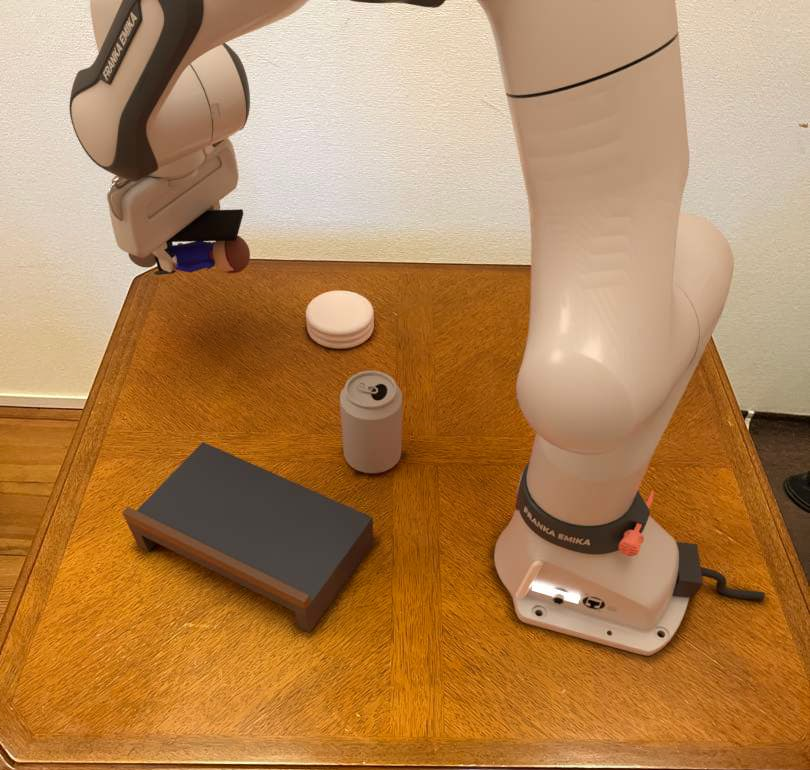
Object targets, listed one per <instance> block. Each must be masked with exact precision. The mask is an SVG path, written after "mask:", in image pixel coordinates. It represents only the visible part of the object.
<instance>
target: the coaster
mask: <svg viewBox="0 0 810 770" xmlns="http://www.w3.org/2000/svg"><path fill="white" fill-rule="evenodd" d="M374 311H375V310H374V308H373V305H372V303H371V301H369V299H367V298H366V297H364V296H363V295H361V294H359V293H357V292H353V291H349V290H331V291H327V292H324V293H321V294H319V295H317V296H316V297H314V298H313V299H312V300H311V301H310V302H309V304H308V305H307V307H306V309H305V319H306V320H305V323H306V330H307V333H308V335H309V337H310V338H311V339H312V340H313V341H314V342H315V343H317V344H318V345H320V346H322V347H326V348H329V349H336V350H345V349H346V350H347V349H351V348H354V347H357V346H359V345H362V344H363V343H365V342H366V341H367V340H368V339H370V337H371V336H372V334H373V332H374V327H375V323H374V321H375V319H374V317H375V316H374V315H375V314H374V313H375V312H374Z"/></svg>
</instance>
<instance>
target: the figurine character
mask: <svg viewBox="0 0 810 770" xmlns="http://www.w3.org/2000/svg"><path fill="white" fill-rule="evenodd" d="M243 217H244V210H243V208H241V209H239V208H238V209H220V210H207V211H205V212H204V213H203V214H202V215H200V216H199V217H198V218H196V219H195V220H194V221H192V222H191V223H190V224H188V225H187V226H186V227H185V228H183V229H182V230H181V231H179V232H178V233H177V234H175V235H174V236H173V237H171V238H170V239H169V240H168V241H166V244H167V248H166V249H164V250H165V251H166V252H168V253H169V254H174V255H176V258H177V263H178V267H176V268H175V269H174V270H173V271H171V272H168V271H165V270H163V269H162V268H161V266H160V263H159V260H158V257H156V256H155V255H154V254H153V253H151V254H149V255H148V256H147V257H145V258H141V257H138V256H135V255H132V254H129V253H127V254H128V257H129V259H130V261H131V262H132V263H133V264H134V265H136V266H138V267H140V268H146V269H147V268H152V267H154V266H155V265H156V266H157V269H158V270H156V271H154V272H153V273H152V274H153V275H156V276H162V275H171V274H175V273H177V271H180V272H185V273H189V274H191V273H194V272H198V271H201V270H204V269H207V270H210V269H212V268H213V267H215V265H216V267H218V269H219V270H220V271H222V272H224V273H226V274H239V273H241V272H242V271H244V270H245V269H246V268H247V267H248V265H249V262H250V259H251V251H250V247H249V244H248V243H247V242H246V241H245V239H244V238H243V237H241V236H240V235H239V233H240V228H241V224H242V220H243ZM184 242H185V243H184ZM174 243H177V244H174Z"/></svg>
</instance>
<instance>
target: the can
mask: <svg viewBox="0 0 810 770" xmlns="http://www.w3.org/2000/svg"><path fill="white" fill-rule="evenodd" d="M339 394H340V395H339V408H340V423H341V435H342V437H341V438H342V451H343V456H344V459H345V462H346V463H347V464H348V465H349V466H350V467H351V468H353V469H354V470H356V471H358V472H362V473H364V474H379V473H384V472H386V471H389V470H390V469H392V468H394V467H395V466H396V465H397V464H398V463H399V461H400V459H401V457H402V440H403V439H402V437H403V393H402V390H401V388H400V387H399V386H398V385H397V382H396V380H395V379H394V378H393V377H392V376H391V375H389V374H387V373H385V372H382V371H379V370H364V371H360V372H357V373H354V374H352V376H350V377H349V378H348V379H347V380H346V382H345V384H344V386H343V388H342V389H341V391H340V393H339Z"/></svg>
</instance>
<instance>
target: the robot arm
mask: <svg viewBox="0 0 810 770" xmlns="http://www.w3.org/2000/svg"><path fill="white" fill-rule="evenodd" d="M349 1H350V2H355V3H362V4H363V3H365V4H405V5H411V6H416V7H422V8H430V9H431V8H433V9H436V8H439V7H441V6H442V5H443V4H444V3H445V2H446V0H349ZM89 2H90V5H89V6H90V15H91V22H92V23H91V24H92V29H93V34H94V39H95V44H96V48H97V52H98V54H97V56H96V58H95V60H94V62H93V63H92V64H91V65H90V66H88V67H86V68H83V69H80V70H79V71H77V73H76V75H75V77H74V81H73V83H72V86H71V90H70V97H69V107H68V108H69V116H70V122H71V125H72V128H73V131H74V133H75V136H76V137H77V138H76V139H77V140H78V142H79V144H80V145H81V147H82V149H83V151H84V152H85V153H86V155H87V156H88V158H89V159H90V160H91V161H92V162H93V163H94V164H95V165H97V166H98V167H99V168H101V169H103V170H104V171H106V172H108V173H109V174H112V175H114V177H112V179H111V184H110V186H109V188H108V191H107V193H106V199H107V203H108V209H109V210H108V211H109V216H110V221H111V227H112V231H113V235H114V238H115V242H116V244H117V247H118V248H119V249H120V250H121V251H123V252H124V253H127V254H128V253H129V254H132V255H135V256H138V257H141V258H145V257H147V256H148V255H149V254H151V253H153V254H154V255H155V256H156V257H158V260H159V263H160V266H161V268H162V269H163V270H165V271H168V272H171V271H173V270H174V269H175V268H176V267H178V263H177V258H176V255H174V254H169V253H168V252H166V251H165V250H164V249H166V248H167V244H166V241H168V240H169V239H170V238H171V237H173V236H174V235H175V234H177V233H178V232H179V231H181V230H182V229H183V228H185V227H186V226H187V225H188V224H190V223H191V222H192V221H194V220H195V219H196V218H198V217H199V216H200V215H202V214H203V213H204V212H205V211H207V210H221V205H220V204H221V203H220V201H222V199H224V198H225V197H227V196H228V195H229V194H231V193H232V192H233V191H234V190H236V188H237V186H238V182H239V178H240V177H239V176H240V175H239V169H238V161H237V157H236V156H237V155H236V152H235V148H234V145H233V143H232V141H231V139H230V137H232V136H233V135H235V134H237V133H238V132H239V131H242V130H243V129H244V128H245V126H246V124H247V121H248V118H249V114H250V109H251V91H250V85H249V80H248V76H247V71H246V69H245V66H244V64H243V62H242V60H241V58H240V57H239V55H238V54H237V52H235V50H234V49H233V48H232V47H230V46H229V45H228V44H227V43H228V42H231V41H232V40H235V39H237V38H239V37H242V36H244V35H247V34H250V33H253V32H255V31H257V30H259V29H262V28H265V27H267V26H269V25H272V24H274V23H276V22H279V21H281V20H284V19H286V18H288V17H289V16H292V15H293V14H294V13H296V12H298V11H299V10H300V9H302V7H304V6H305V5H306V4H307V3H309V2H310V0H90V1H89ZM476 2H477V3H478V5H480V7H481V8H482V10H483V12H484V13H485V16H486V18H487V20H488V23H489V25H490V28H491V32H492V36H493V38H494V43H495V47H496V51H497V58H498V63H499V68H500V72H501V78H502V82H503V88H504V92H505V96H506V97H505V98H506V101H507V106H508V110H509V114H510V120H511V123H512V129H513V134H514V138H515V143H516V147H517V152H518V157H519V162H520V167H521V172H522V176H523V177H522V178H523V182H524V186H525V192H526V197H527V205H528V212H529V226H530V261H531V262H530V296H529V299H530V300H529V318H528V319H529V320H528V330H527V337H526V343H525V348H524V352H523V357H522V360H521V364H520V368H519V370H518V374H517V377H516V384H515V392H516V399H517V403H518V406H519V409H520V411H521V413H522V415H523V417H524V418H525V420H526V422H527V424H528V425H529V426H530V428H532V430H533V431H534V432H535V436H534V440H533V445H532V449H531V453H530V457H529V460H528V462H527V464H526V465H525V467H524V469H522V473H521V475H520V478H519V481H518V485H517V490H516V494H515V498H516V500H515V505H514V506H515V511H514V512H513V514H512V517H511V519H510V521H509V523H508V524H507V526H506V527H504V529H503V531H502V532H501V533H500V535H499V537H498V538H497V540H496V543H495V548H494V554H493V556H494V557H493V558H494V567H495V569H496V573H497V575H498V577H499V579H500V581H501V582H502V584H503V586H504V587H505V588H506V590H507V591H508V592H509V594H510V596H511V598H512V603H513V607H514V611H515V615H516V616H517V618H518V620H520V622H522V623H525V624H527V625H531V626H535V627H537V628H538V627H539V628H542V629H546V630H549V631H553V632H556V633H559V634H564V635H567V636H571V637H575V638H579V639H582V640H586V641H589V642H593V643H598V644H600V645H605V646H608V647H611V648H614V649H618V650H622V651H626V652H629V653H630V652H631V653H633V654H637V655H641V656H645V657H650V656H652V655H655V654H656V653H657V652H659V651H661V650H662V649H664V647H666V646H667V645H668V644H669V642H670V641H672V639H673V637H674V636H675V635H676V633H677V631H678V629H679V628H680V625H681V623H682V621H683V618H684V616H685V614H686V611H687V607H688V604H689V601H690V598H694V597H696V595H697V594H698V592H699V590H700V588H701V587H702V586H703V583H704V581H703V577H706V578H710V579H712V580H715V581H716V584H715V588H716V591H718V593H720V594H722V595H723V596H725V597H728V598H731V599H739V600H741V599H742V600H743V599H744V600H756V601H764V599H765V596H766V595H765V592H764V591H756V590H741V589H734V588H730V587H728V586H726V585H727V578H726V576H725V575H723V574H722V573H721V572H719V571H717V570H714V569H711V568H708V567H703V566H701V562H700V561H701V560H700V554H699V547H698V543H693V542H680V541H676V540H675V538H674V537H673V535H671V534H670V533H669V532H668V531H667V530H666V529H664V528H663V527H662V526H661V525H660V524H659V523H658V522H657V521H656V520H655V519H654V518H653V517H652V516H651V515H650V514H651V511H650V508H651V505H652V503H653V501H654V495H655V494H654V493H655V491H654V489H652V490H651V491H650V494H649V495H648V498H647V500H646V501H645V500H644V498H643V496H642V495H641V493H640V491H639V489H640V487H641V484H642V482H643V479H644V477H645V474H646V473H647V470H648V468H649V465H650V463H651V461H652V459H653V456H654V454H655V452H656V450H657V447H658V445H659V443H660V441H661V439H662V437H663V436H664V434H665V432H666V429H667V427H668V425H669V423H670V422H671V419H672V418H673V415H674V414H675V411H676V410H677V407H678V405H679V403H680V401H681V399H682V397H683V395H684V394H685V391H686V390H687V387H688V385H689V383H690V381H691V379H692V377H693V375H694V373H695V371H696V369H697V367H698V365H699V363H700V360H701V358H702V356H703V354H704V353H705V350H706V348H707V346H708V344H709V342H710V340H711V338H712V335H713V333H714V331H715V329H716V327H717V325H718V322H719V320H720V319H721V316H722V313H723V311H724V308H725V307H726V303H727V299H728V296H729V292H730V289H731V285H732V280H733V274H734V267H735V265H734V263H735V262H734V254H733V250H732V247H731V245H730V243H729V241H728V239H727V237H726V236H725V235H724V233H723V232H722V231H721V230H720V229H719V227H717V225H715V224H714V223H712V222H711V221H710V220H708V219H706V218H704V217H703V216H700V215H696V214H693V213H690V212H681V206H682V201H683V195H684V191H685V187H686V184H687V180H688V175H689V169H690V148H689V147H690V146H689V139H688V126H687V125H688V124H687V115H686V102H685V91H684V80H683V69H682V55H681V45H680V33H679V23H678V14H677V5H676V4H677V3H676V0H476ZM537 614H540V616H539V615H537ZM659 635H661V637H660V636H659Z"/></svg>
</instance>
